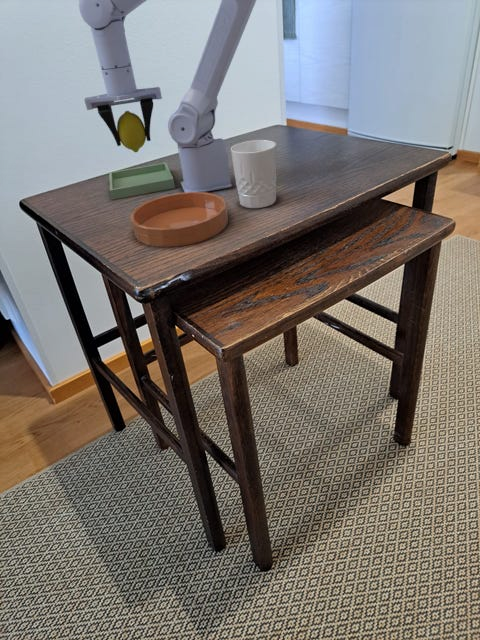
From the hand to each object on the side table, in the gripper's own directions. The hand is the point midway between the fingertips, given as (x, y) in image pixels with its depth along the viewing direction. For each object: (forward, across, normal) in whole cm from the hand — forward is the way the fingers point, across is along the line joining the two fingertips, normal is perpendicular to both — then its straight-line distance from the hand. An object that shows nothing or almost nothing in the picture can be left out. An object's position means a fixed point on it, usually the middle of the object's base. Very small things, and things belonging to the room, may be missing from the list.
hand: (133, 142), depth 92 cm
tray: (+9, 0, +2) cm, 10 cm away
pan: (+9, +5, -25) cm, 27 cm away
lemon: (+2, 0, 0) cm, 2 cm away
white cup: (+9, +20, -21) cm, 30 cm away
